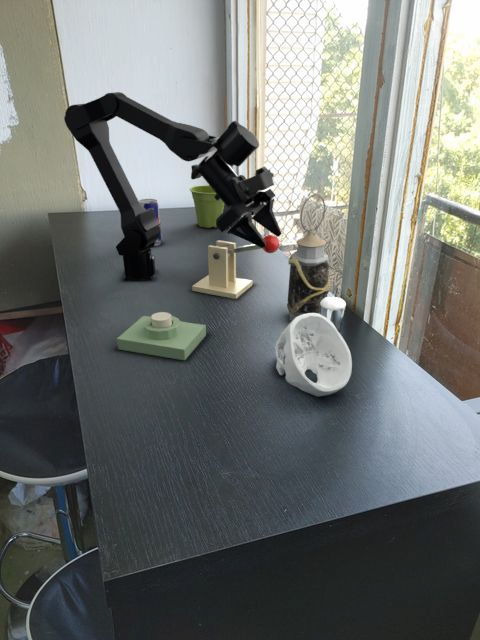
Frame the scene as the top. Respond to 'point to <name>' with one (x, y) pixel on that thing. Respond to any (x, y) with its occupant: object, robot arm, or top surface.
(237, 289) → the bracket
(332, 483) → the top surface
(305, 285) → the lantern
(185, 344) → the block
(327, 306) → the milkshake
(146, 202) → the energy drink
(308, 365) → the skull bowl
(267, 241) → the lever
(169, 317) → the button
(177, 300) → the top surface
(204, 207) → the plant pot
